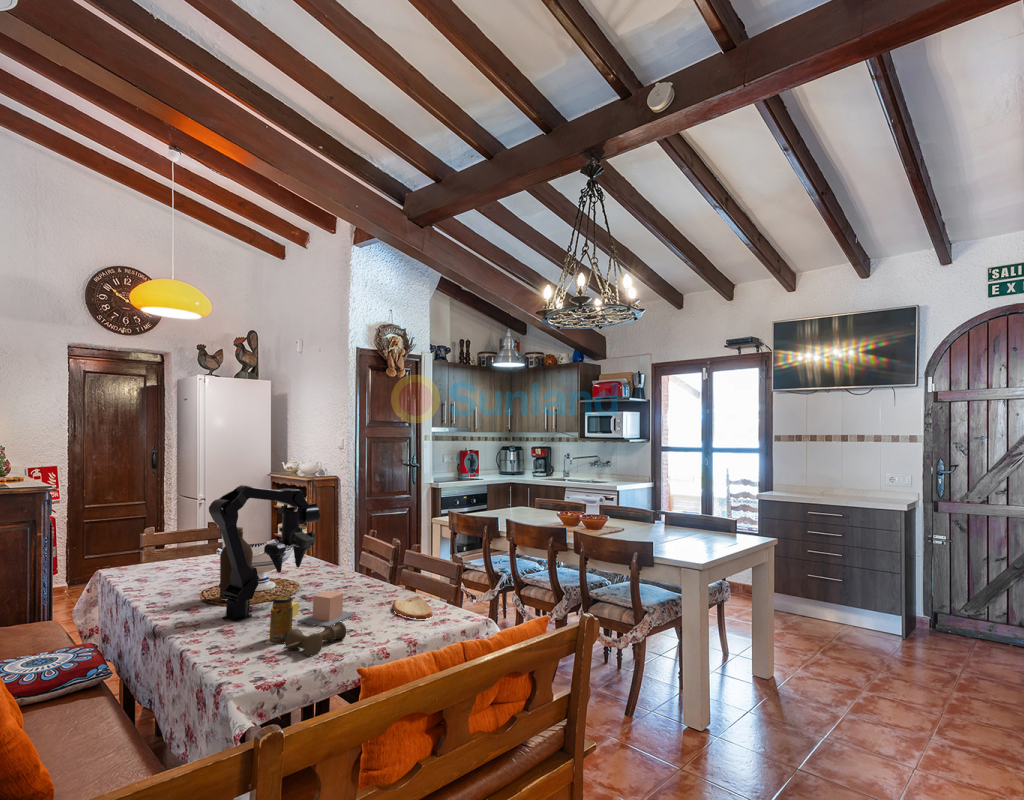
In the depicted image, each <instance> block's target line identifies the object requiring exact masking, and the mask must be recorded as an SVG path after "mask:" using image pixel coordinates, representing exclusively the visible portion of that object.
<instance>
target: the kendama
mask: <svg viewBox="0 0 1024 800" xmlns="http://www.w3.org/2000/svg"><path fill="white" fill-rule="evenodd" d="M346 627H347V626H346V625H345V624H344V622H343V621H342V622H337V623H335V625H333V626H327V627H324V629H323V630H322V631H320V632H314V633H312V634H310V635H304V634H303V632H302V630H301V629H299V628H294V629H293V628H292V630H291V631H290V632H289V633H288V634H287V636H286V639H285V643H284V646H283V649H284V650H286V649H287V650H290V651H293V650H297V649H303V652H304V654H305V656H307V657H309V656H311V655H314V654H316V655H317V653H318V654H319V653H320V652H321V650H322V647H323V642H324V641H327V642H329V643H332V642H333V641H334V640H340V639H342V640H344V639H345V638H346V635H347V628H346ZM292 649H293V650H292ZM314 656H315V655H314ZM311 657H312V656H311Z"/></svg>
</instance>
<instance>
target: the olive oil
mask: <svg viewBox="0 0 1024 800" xmlns="http://www.w3.org/2000/svg"><path fill="white" fill-rule="evenodd" d="M237 529H238V532H239V536H240V539H241V543H242V546H243V550H244V553H245V557H246V560H247V564H248V565H249V566H251V567H253V565H252V564H253V558H254V557H253V555H254V554H253V553H254V552H253V549H252V547H251V545H250V544H249V543H248V542H247V541H246V540H245V539H244V531H243V530H244V528H243V527H242V526H241V527H240V526H237ZM231 570H232V567H231V564H230V560H229V557H228V554H227V550H226V547H225V546H224V547H223V548H222V550H221V552H220V555H219V575H220V576H219V577H220V578H219V584H218V585H219V587H218V588H219V599H220V598H222V599H229V598H225V597H224V595H223V591H224V590H225V588H226V587H227V586H228V585H229V584H230V583H231V582H230V574H231Z"/></svg>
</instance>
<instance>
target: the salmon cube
mask: <svg viewBox="0 0 1024 800" xmlns="http://www.w3.org/2000/svg"><path fill="white" fill-rule="evenodd" d="M312 599H313V600H312V601H313V602H312V614H313V619H319V620H325V621H331V620H333V619H335V618H338V617H340V616H342V611H343V607H344V606H343V604H344V592H336V591H332V590H325V591H322V592H319V593H316V594H315V595H313V597H312Z"/></svg>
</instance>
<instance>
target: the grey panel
mask: <svg viewBox="0 0 1024 800" xmlns="http://www.w3.org/2000/svg"><path fill="white" fill-rule="evenodd" d="M355 614H356V615H357V613H356V612H352V611H343V610H342V616H340V617H338V618H335V619H333V620H331V621H325V620H319V619H313V613H312V614H310V615H308V616H305V617H302V618H300V619H298V620H297V623H300V622H302V623H301V624H306V623H309V624H308V625H311V624H315V625H314V626H317V625H321V626H320V627H323V626H326V627H327V626H331V627H333V626H334V624H335V623H337V622H340V621H342V622H344V621H345V619H346V620H348V619H350V618H352V617H351V616H353V615H355ZM356 615H355V616H356ZM349 617H350V618H349ZM353 617H354V616H353ZM347 618H348V619H347ZM343 620H344V621H343ZM332 625H333V626H332Z"/></svg>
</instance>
